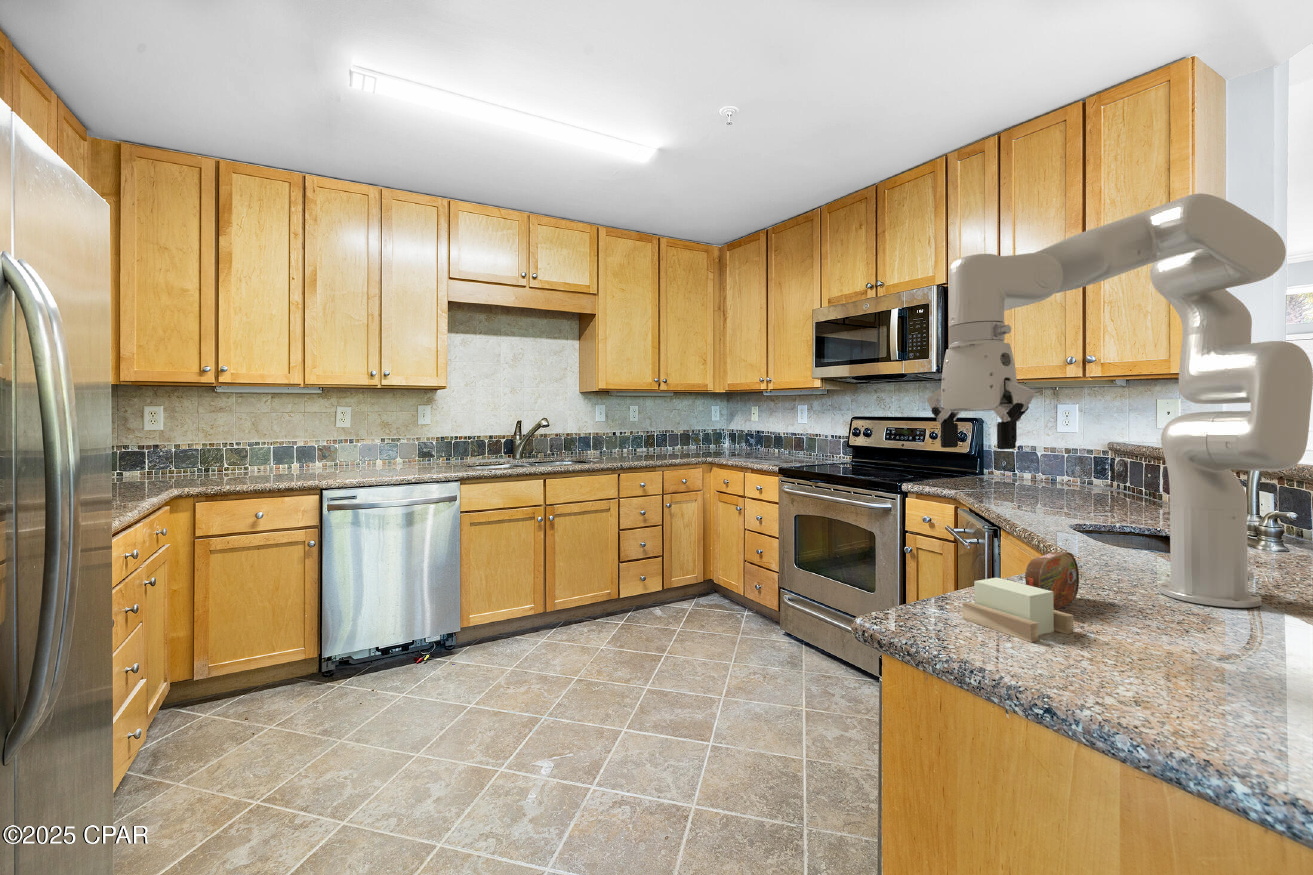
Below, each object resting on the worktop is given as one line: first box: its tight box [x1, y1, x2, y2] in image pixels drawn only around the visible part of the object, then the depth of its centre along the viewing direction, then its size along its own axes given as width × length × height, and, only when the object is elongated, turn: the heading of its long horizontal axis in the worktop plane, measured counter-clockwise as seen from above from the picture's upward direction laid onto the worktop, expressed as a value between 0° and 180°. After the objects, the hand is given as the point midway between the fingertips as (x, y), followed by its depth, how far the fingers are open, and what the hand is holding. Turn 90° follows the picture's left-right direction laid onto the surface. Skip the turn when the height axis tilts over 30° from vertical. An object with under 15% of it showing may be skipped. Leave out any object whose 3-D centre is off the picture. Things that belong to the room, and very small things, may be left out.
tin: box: [1024, 551, 1080, 611], centre depth 97 cm, size 15×3×8 cm, turn 125°
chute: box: [962, 601, 1075, 643], centre depth 87 cm, size 9×11×2 cm
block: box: [973, 577, 1055, 636], centre depth 88 cm, size 5×9×6 cm, turn 21°
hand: (976, 448), depth 89 cm, fingers open, 9 cm apart
